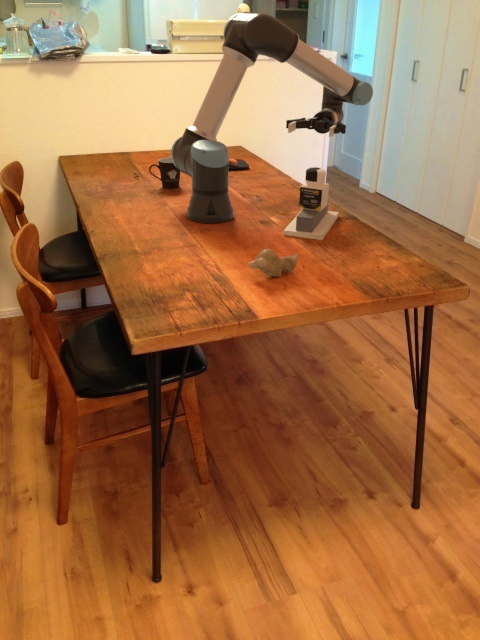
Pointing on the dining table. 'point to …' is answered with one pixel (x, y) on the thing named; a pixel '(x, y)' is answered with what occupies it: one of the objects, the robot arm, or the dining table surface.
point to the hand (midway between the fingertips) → (309, 130)
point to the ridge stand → (311, 224)
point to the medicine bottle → (314, 190)
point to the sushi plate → (237, 164)
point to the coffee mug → (168, 173)
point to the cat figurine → (274, 263)
